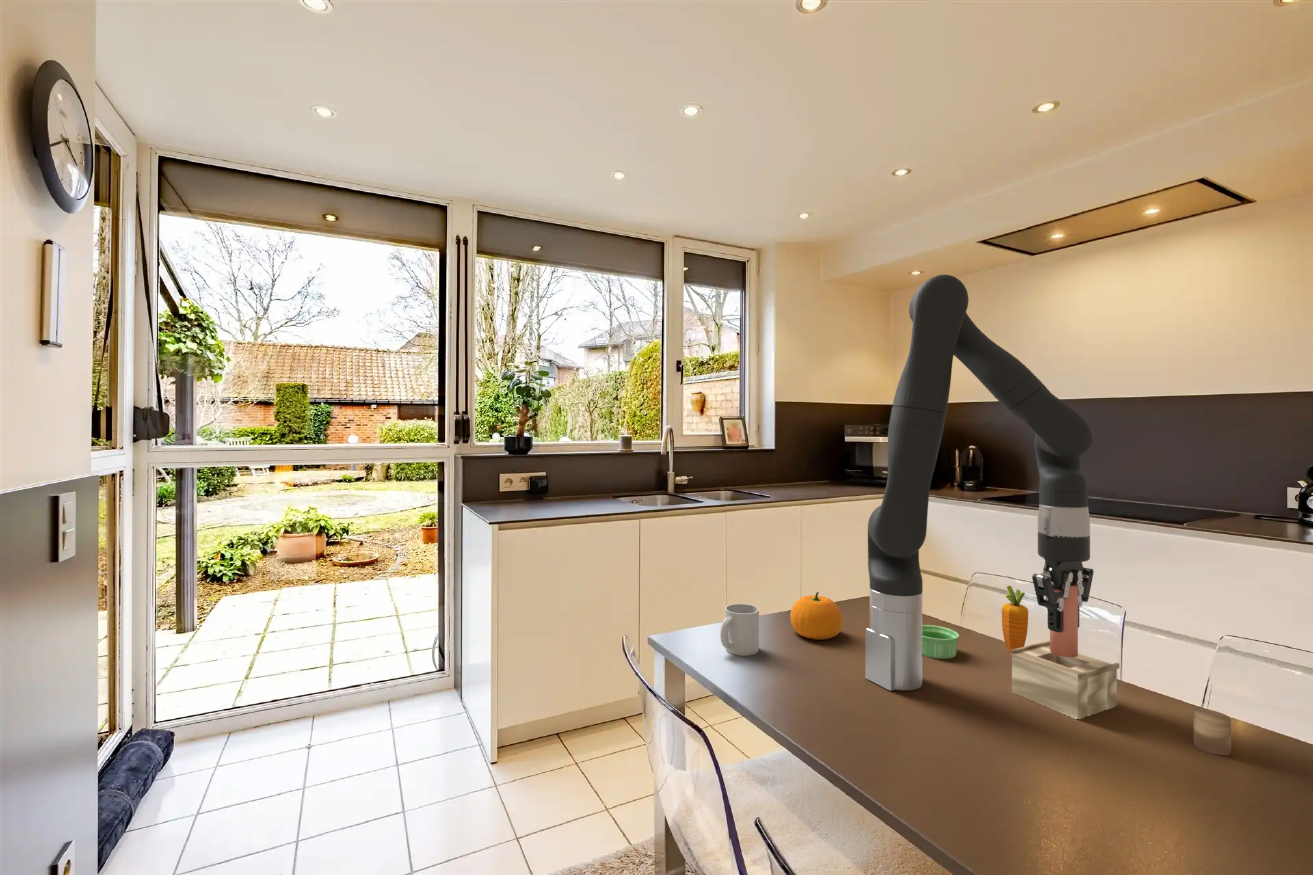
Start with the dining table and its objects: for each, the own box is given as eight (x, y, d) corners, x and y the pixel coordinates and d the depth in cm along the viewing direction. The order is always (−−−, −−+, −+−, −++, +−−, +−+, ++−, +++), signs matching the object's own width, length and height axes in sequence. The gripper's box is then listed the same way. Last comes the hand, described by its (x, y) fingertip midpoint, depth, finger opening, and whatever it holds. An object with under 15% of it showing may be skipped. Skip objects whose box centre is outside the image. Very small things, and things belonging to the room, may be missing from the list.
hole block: (1080, 720, 95) (1080, 674, 95) (1009, 691, 105) (1009, 650, 105) (1119, 707, 99) (1119, 663, 99) (1047, 680, 110) (1048, 640, 110)
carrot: (1033, 665, 117) (1033, 590, 117) (1006, 663, 118) (1006, 589, 118) (1023, 656, 122) (1023, 584, 122) (996, 654, 123) (997, 583, 123)
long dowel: (1068, 658, 100) (1068, 588, 99) (1044, 650, 103) (1044, 583, 103) (1083, 654, 101) (1082, 585, 101) (1058, 647, 105) (1058, 580, 105)
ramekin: (909, 642, 130) (909, 623, 130) (953, 646, 128) (953, 626, 127) (915, 658, 121) (915, 636, 121) (963, 662, 119) (963, 641, 119)
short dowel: (1222, 758, 84) (1222, 723, 84) (1188, 744, 88) (1188, 711, 87) (1236, 751, 86) (1236, 717, 86) (1201, 738, 89) (1202, 706, 89)
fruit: (832, 625, 141) (832, 584, 141) (850, 643, 129) (850, 598, 129) (784, 626, 141) (784, 585, 140) (798, 644, 129) (798, 599, 129)
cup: (765, 650, 125) (765, 609, 125) (734, 662, 119) (734, 619, 119) (740, 641, 131) (740, 601, 131) (709, 652, 124) (709, 610, 124)
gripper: (1065, 525, 108) (1065, 617, 109) (1015, 531, 102) (1016, 628, 103) (1111, 531, 102) (1111, 629, 102) (1060, 538, 96) (1060, 642, 96)
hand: (1063, 628), depth 102 cm, fingers closed on long dowel, 4 cm apart
